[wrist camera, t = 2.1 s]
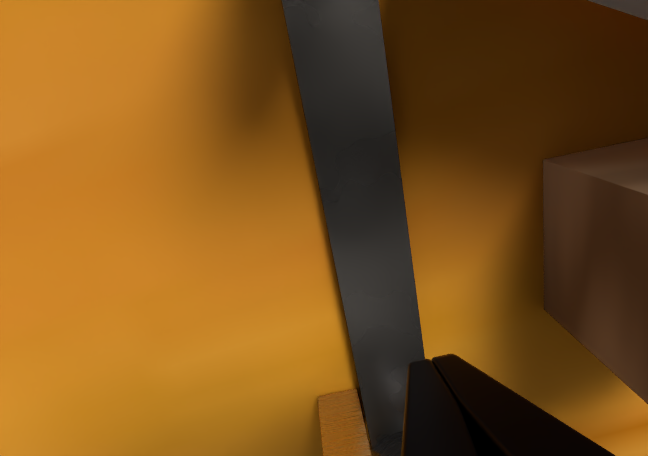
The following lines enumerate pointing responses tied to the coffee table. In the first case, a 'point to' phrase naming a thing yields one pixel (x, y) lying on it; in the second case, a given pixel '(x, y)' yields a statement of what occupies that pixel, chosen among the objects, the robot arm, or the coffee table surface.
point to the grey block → (627, 6)
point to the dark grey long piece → (359, 214)
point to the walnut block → (600, 254)
